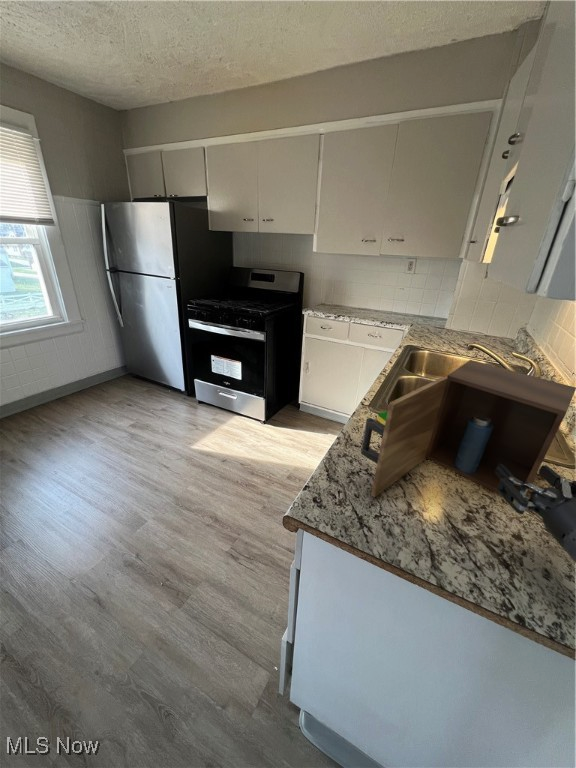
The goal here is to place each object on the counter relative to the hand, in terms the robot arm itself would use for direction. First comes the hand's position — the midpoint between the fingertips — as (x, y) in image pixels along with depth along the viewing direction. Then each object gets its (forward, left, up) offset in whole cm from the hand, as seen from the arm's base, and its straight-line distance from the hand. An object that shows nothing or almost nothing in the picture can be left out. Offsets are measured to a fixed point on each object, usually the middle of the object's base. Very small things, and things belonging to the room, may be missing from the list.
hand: (519, 467), depth 61 cm
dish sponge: (+30, -15, -13) cm, 36 cm away
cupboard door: (+23, +4, -13) cm, 27 cm away
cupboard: (+8, -15, -13) cm, 22 cm away
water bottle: (+10, -10, -12) cm, 19 cm away
